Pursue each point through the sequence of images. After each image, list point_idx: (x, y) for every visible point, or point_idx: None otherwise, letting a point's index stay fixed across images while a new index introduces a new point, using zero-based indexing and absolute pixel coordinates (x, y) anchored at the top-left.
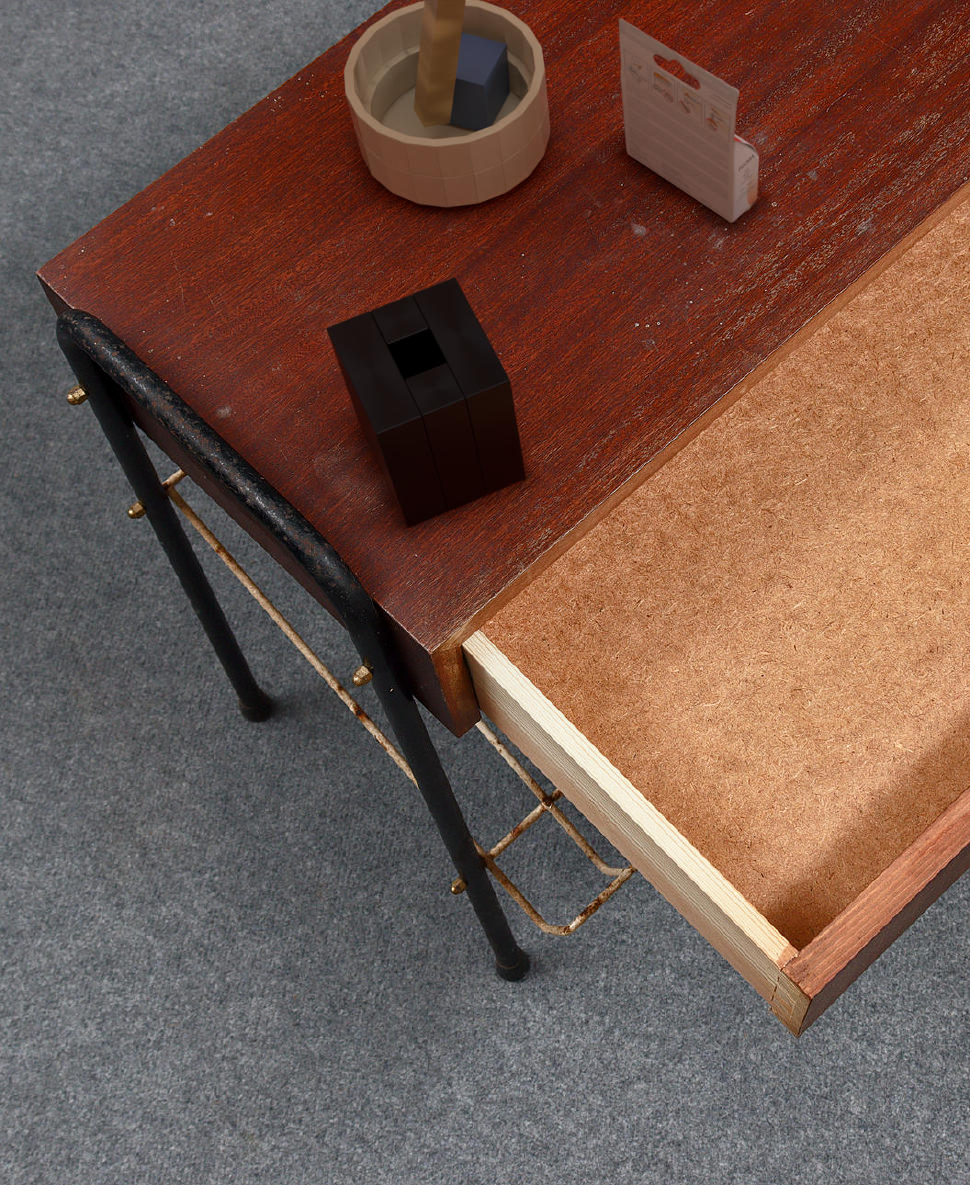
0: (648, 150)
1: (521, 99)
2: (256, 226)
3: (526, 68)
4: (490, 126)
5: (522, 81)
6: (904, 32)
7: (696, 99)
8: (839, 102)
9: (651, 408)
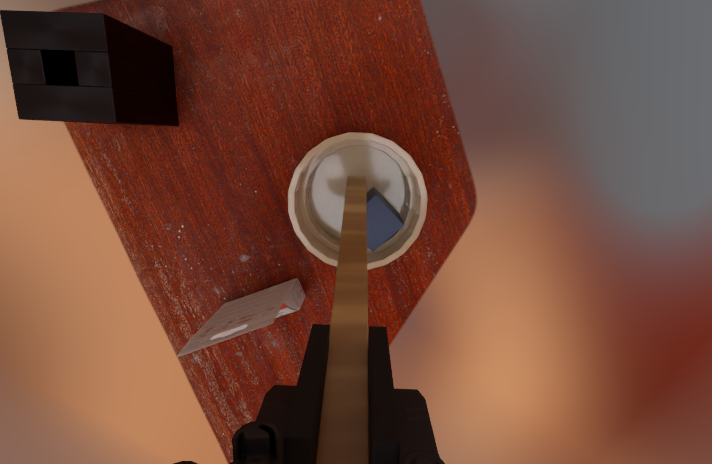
0: (277, 288)
1: None
2: (354, 45)
3: None
4: (294, 210)
5: None
6: None
7: (216, 331)
8: None
9: (126, 207)
